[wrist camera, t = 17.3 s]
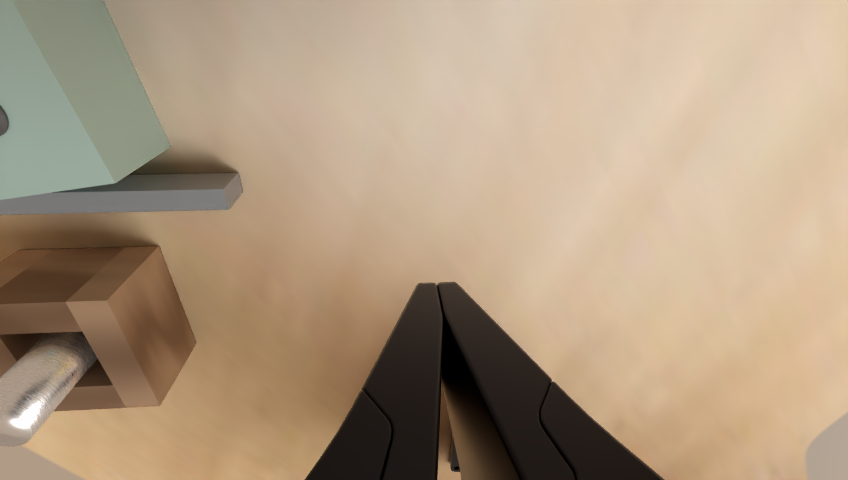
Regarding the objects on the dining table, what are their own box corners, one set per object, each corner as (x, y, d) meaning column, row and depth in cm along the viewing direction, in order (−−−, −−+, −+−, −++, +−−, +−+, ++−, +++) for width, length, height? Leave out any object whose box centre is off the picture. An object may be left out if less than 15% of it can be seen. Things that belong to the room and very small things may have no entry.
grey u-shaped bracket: (243, 191, 20) (228, 209, 18) (9, 196, 19) (-29, 215, 18) (173, -92, 14) (144, -105, 13) (-159, -98, 14) (-238, -113, 12)
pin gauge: (145, 315, 23) (43, 444, 17) (102, 316, 23) (-19, 447, 16) (130, 281, 22) (12, 406, 15) (84, 283, 22) (-55, 409, 15)
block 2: (196, 342, 25) (159, 405, 21) (77, 347, 24) (18, 413, 21) (158, 246, 21) (106, 300, 17) (18, 250, 21) (-67, 306, 17)
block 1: (172, 145, 19) (113, 184, 15) (47, 164, 19) (-45, 207, 15) (104, -3, 16) (6, -5, 12) (-46, 19, 16) (-193, 25, 12)
